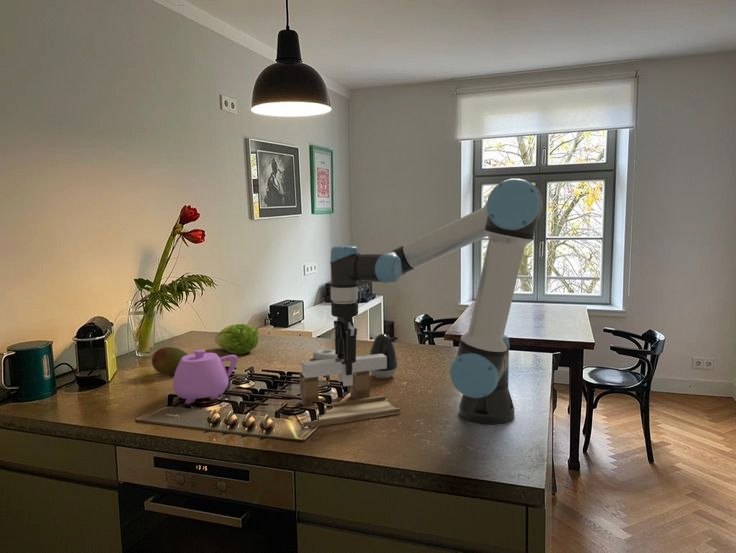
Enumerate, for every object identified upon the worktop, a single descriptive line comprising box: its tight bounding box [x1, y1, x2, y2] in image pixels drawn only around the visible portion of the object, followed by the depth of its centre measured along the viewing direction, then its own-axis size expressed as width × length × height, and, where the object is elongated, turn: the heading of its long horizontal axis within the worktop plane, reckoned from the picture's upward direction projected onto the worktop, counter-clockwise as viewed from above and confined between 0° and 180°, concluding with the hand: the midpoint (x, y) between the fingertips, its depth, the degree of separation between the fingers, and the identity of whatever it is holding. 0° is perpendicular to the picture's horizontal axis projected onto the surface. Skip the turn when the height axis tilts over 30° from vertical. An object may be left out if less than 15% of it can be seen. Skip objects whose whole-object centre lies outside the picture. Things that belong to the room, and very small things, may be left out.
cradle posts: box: [299, 370, 371, 407], centre depth 159 cm, size 6×20×9 cm, turn 111°
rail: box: [301, 354, 387, 378], centre depth 148 cm, size 4×24×4 cm, turn 111°
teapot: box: [172, 348, 239, 405], centre depth 167 cm, size 20×20×15 cm
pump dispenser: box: [369, 333, 399, 380], centre depth 183 cm, size 10×10×15 cm
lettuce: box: [214, 323, 259, 355], centre depth 221 cm, size 13×22×14 cm
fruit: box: [151, 346, 189, 375], centre depth 190 cm, size 12×12×10 cm
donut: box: [312, 348, 338, 361], centre depth 208 cm, size 10×3×10 cm
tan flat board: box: [301, 395, 401, 427], centre depth 149 cm, size 12×28×1 cm, turn 111°
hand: (345, 383), depth 149 cm, fingers closed on rail, 3 cm apart
